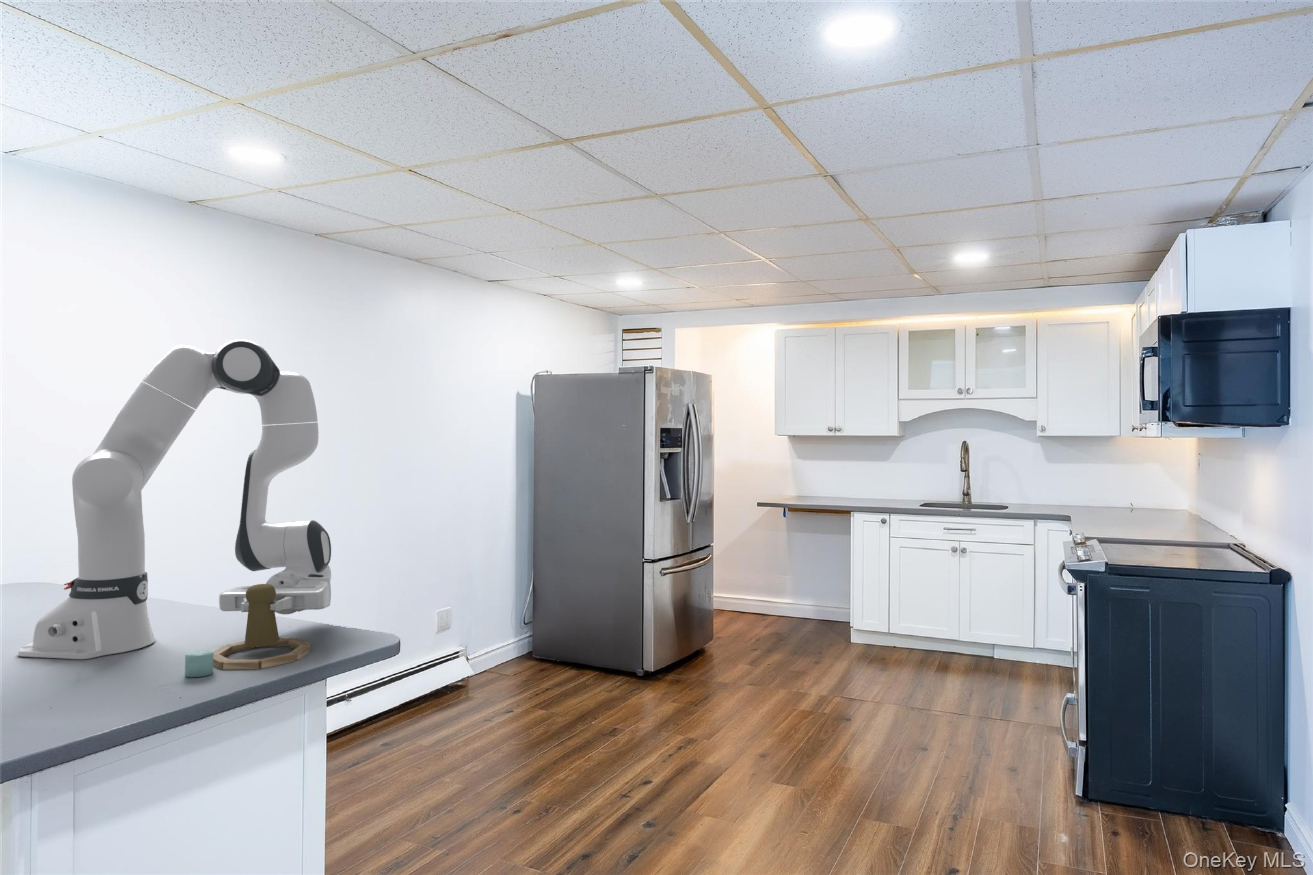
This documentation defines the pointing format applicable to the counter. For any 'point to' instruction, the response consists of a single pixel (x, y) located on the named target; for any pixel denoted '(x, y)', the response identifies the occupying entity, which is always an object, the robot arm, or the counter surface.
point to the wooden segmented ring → (225, 663)
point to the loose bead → (199, 664)
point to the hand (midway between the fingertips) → (259, 607)
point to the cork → (261, 616)
